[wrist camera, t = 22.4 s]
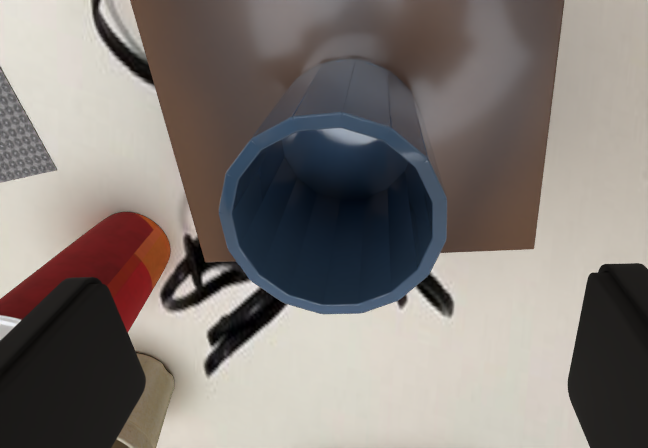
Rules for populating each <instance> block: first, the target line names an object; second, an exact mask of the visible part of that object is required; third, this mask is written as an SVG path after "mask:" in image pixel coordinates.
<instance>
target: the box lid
mask: <svg viewBox="0 0 648 448" xmlns="http://www.w3.org/2000/svg"><path fill="white" fill-rule="evenodd" d="M130 1H131V5H132V8H133V12H134V15H135V19H136V22H137V26H138V29H139V33H140V36H141V39H142V43H143V46H144V50H145V53H146V57H147V60H148V64H149V67H150V71H151V74H152V78H153V81H154V85H155V88H156V92H157V95H158V99H159V102H160V106H161V109H162V113H163V116H164V120H165V123H166V127H167V130H168V134H169V137H170V141H171V144H172V148H173V151H174V155H175V158H176V162H177V165H178V169H179V172H180V176H181V179H182V183H183V186H184V190H185V193H186V197H187V200H188V204H189V207H190V211H191V214H192V218H193V221H194V225H195V228H196V232H197V235H198V239H199V242H200V246H201V249H202V253H203V256H204V260H205V262H226V261H236V260H235V259H234V257H233V256H232V255H231V253H230V252H229V250H228V248H227V244H226V240H225V237H224V233H223V229H222V225H221V221H220V217H219V205H220V199H221V194H222V189H223V183H224V178H225V174H226V171H227V170H228V169H229V167H230V166H231V165H232V163H233V162H234V161H235V159H236V158H237V157H238V155H239V154H240V152H241V151H242V150H243V148H244V147H245V146H246V144H247V143H248V142H249V140H250V139H251V138H252V136H253V135H254V134H255V132H256V131H257V130H258V128H259V127H260V126H261V124H262V123H263V122H264V120H265V119H266V118H267V116H268V115H269V114H270V112H271V111H272V110H273V108H274V107H275V106H276V104H277V103H278V102H279V100H280V99H281V98H282V96H283V95H284V94H285V92H286V91H287V90H288V88H289V87H290V86H291V84H292V83H293V82H294V80H295V79H296V78H298V77H299V76H301V75H302V74H304V73H305V72H307V71H308V70H310V69H311V68H313V67H315V66H317V65H319V64H322V63H325V62H328V61H333V60H338V59H358V60H364V61H368V62H372V63H374V64H377V65H379V66H382V67H383V68H385V69H387V70H389V71H390V72H392V73H393V74H394V75H396V76H397V77H398V78H399V79H400V80H401V81H402V82H403V83H404V84H405V85H406V86H407V87H408V89H409V90H410V91H411V92H412V94H413V96H414V98H415V100H416V102H417V104H418V107H419V110H420V112H421V114H422V116H423V119H424V122H425V125H426V129H427V132H428V136H429V139H430V142H431V146H432V149H433V152H434V156H435V159H436V163H437V166H438V169H439V173H440V176H441V180H442V183H443V186H444V190H445V193H446V197H447V239H446V242H445V244H444V246H443V248H442V250H441V252H440V253H448V252H473V251H497V250H522V249H534V244H535V236H536V228H537V220H538V212H539V204H540V195H541V187H542V179H543V171H544V163H545V155H546V146H547V138H548V130H549V122H550V114H551V106H552V98H553V89H554V81H555V73H556V65H557V57H558V49H559V41H560V32H561V24H562V16H563V8H564V0H130Z"/></svg>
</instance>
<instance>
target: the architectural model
mask: <svg viewBox="0 0 648 448" xmlns="http://www.w3.org/2000/svg"><path fill="white" fill-rule="evenodd" d="M55 170H57V169H56V168H55V166H54V164H53V162H52V160H51V159H50V157H49V155H48V153H47V151H46V150H45V148H44V146H43V144H42V142H41V141H40V139H39V137H38V135H37V133H36V132H35V130H34V128H33V126H32V124H31V123H30V121H29V119H28V117H27V115H26V114H25V112H24V110H23V108H22V106H21V105H20V103H19V101H18V99H17V97H16V96H15V94H14V92H13V90H12V88H11V87H10V85H9V83H8V81H7V79H6V78H5V76H4V74H3V72H2V70H1V69H0V182H5V181H9V180H14V179H18V178H23V177H27V176H32V175H37V174H41V173H46V172H50V171H55Z"/></svg>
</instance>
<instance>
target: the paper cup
mask: <svg viewBox="0 0 648 448" xmlns="http://www.w3.org/2000/svg"><path fill="white" fill-rule="evenodd" d="M169 257H170V244H169V241H168V239H167V237H166V235H165V233H164V232H163V231H162V229H161V228H160V227H159V226H158V225H157V224H156V223H154V222H153V221H152V220H150V219H149V218H147V217H145V216H142V215H140V214H137V213H132V212H120V213H116V214H113V215H111V216H109V217H107V218H106V219H104V220H103V221H101V222H100V223H99V224H97V225H96V226H94V227H93V228H92V229H90V230H89V231H88V232H86V233H85V234H84V235H82V236H81V237H80V238H79V239H77V240H76V241H75V242H73V243H72V244H71V245H69V246H68V247H67V248H65V249H64V250H63V251H62V252H60V253H59V254H58V255H56V256H55V257H54V258H53V259H51V260H50V261H49V262H47V263H46V264H45V265H43V266H42V267H41V268H40V269H38V270H37V271H36V272H34V273H33V274H32V275H31V276H29V277H28V278H27V279H25V280H24V281H23V282H22V283H20V284H19V285H18V286H16V287H15V288H14V289H13V290H11V291H10V292H9V293H7V294H6V295H5V296H4V297H2V298H1V299H0V340H1V339H3V338H4V337H5V336H6V335H7V334H8V333H9V332H10V331H11V330H12V329H13V328H14V327H15V326H16V325H17V324H18V323H19V322H20V321H21V320H22V319H23V318H24V317H25V316H26V315H27V314H28V313H30V312H31V311H32V310H33V309H34V308H35V307H36V306H37V305H38V304H39V303H40V302H41V301H42V300H43V299H44V298H45V297H46V296H47V295H48V294H49V293H50V292H51V291H52V290H53V289H54V288H55V287H57V286H58V285H59V284H60V283H61V282H62V281H63V280H65V279H66V278H75V277H95V278H98V279H99V280H100V281H101V282H102V284H105V285H106V286H107V287H108V288H109V290H110V292H111V295H112V297H113V299H114V302H115V304H116V307H117V309H118V311H119V314H120V316H121V318H122V321H123V323H124V326H125V328H126V330H127V333H128V331H129V329H130V328H131V326H132V324H133V323H134V321H135V319H136V318H137V316H138V314H139V312H140V311H141V309H142V307H143V306H144V304H145V302H146V300H147V299H148V297H149V295H150V294H151V292H152V290H153V288H154V287H155V285H156V283H157V281H158V280H159V278H160V276H161V274H162V272H163V271H164V269H165V267H166V265H167V263H168V260H169Z"/></svg>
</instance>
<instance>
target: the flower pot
mask: <svg viewBox="0 0 648 448" xmlns="http://www.w3.org/2000/svg"><path fill="white" fill-rule="evenodd" d="M136 354H137V357H138V359H139V361H140V364H141V366H142V369H143V371H144V373H145V377H146V385H145V389H144V392H143V394H142V396H141V397H140V399H139V401H138V403H137V404H136V406H135V408H134V409H133V411H132V413H131V415H130V416H129V418H128V420H127V422H126V423H125V425H124V427H123V429H122V430H121V432H120V434H119V436H118V437H117V439H116V441H115V442H114V444H113V446H112V448H156V446H157V442H158V439H159V436H160V432H161V429H162V425H163V422H164V419H165V415H166V412H167V408H168V405H169V402H170V399H171V395H172V393H173V390H174V379H173V376H172V375H171V374H170V373H168V372H167V371H166V369H165V368H164V366H163V364H162V363H161V362H159V361H158V360H156V359H154V358H152V357H150V356H147V355H143V354H139V353H136Z"/></svg>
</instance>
